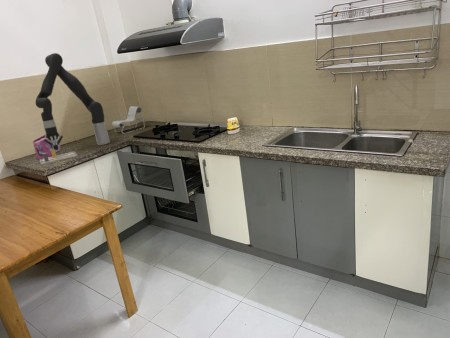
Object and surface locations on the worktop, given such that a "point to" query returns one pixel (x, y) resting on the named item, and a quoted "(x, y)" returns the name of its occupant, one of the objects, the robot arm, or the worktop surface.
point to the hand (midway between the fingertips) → (56, 149)
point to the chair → (129, 118)
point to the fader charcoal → (45, 156)
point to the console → (59, 157)
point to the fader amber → (53, 153)
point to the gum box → (43, 147)
